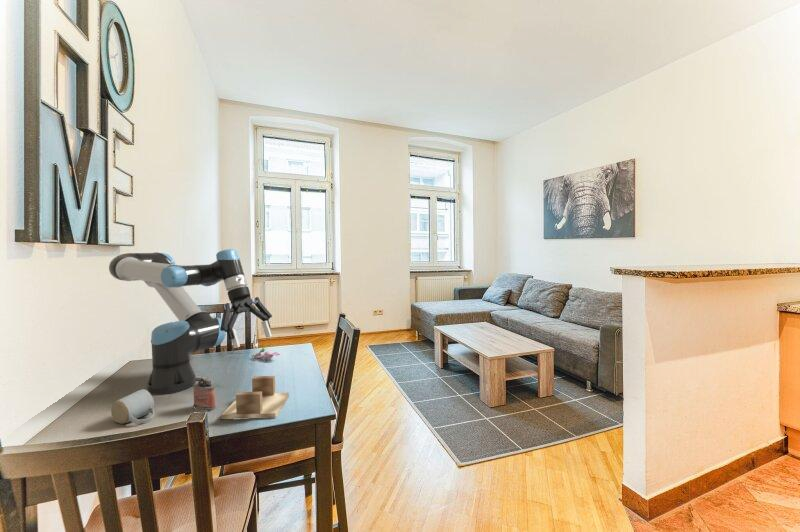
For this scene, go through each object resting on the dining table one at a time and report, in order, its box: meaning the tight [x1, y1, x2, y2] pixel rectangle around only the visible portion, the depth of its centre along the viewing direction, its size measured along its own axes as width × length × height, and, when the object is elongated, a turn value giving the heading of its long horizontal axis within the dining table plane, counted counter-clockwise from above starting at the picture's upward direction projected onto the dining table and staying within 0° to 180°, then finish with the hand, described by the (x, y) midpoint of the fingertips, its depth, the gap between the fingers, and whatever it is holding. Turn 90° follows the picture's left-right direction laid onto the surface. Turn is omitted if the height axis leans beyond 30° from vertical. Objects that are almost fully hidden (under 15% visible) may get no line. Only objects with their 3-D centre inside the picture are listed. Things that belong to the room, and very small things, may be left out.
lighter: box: [192, 376, 217, 412], centre depth 111 cm, size 8×3×10 cm, turn 71°
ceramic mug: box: [110, 388, 155, 425], centre depth 103 cm, size 11×8×8 cm
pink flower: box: [251, 347, 281, 361], centre depth 160 cm, size 6×6×15 cm
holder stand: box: [220, 375, 290, 420], centre depth 111 cm, size 16×15×8 cm
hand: (253, 342), depth 129 cm, fingers open, 13 cm apart
